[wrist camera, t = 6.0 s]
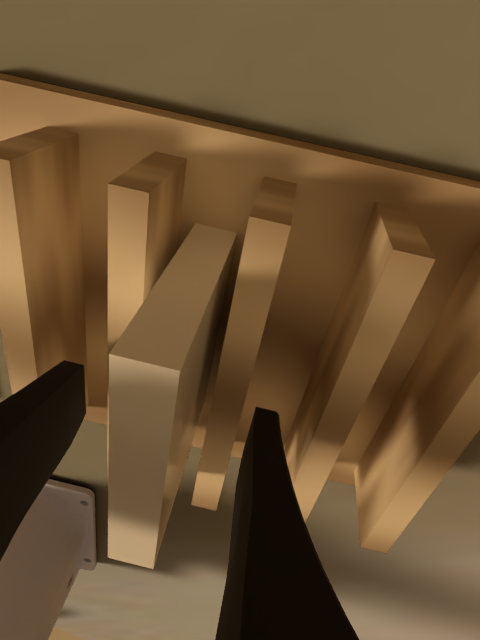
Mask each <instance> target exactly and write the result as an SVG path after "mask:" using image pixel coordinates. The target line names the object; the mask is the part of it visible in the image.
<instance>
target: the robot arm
mask: <svg viewBox="0 0 480 640" xmlns="http://www.w3.org/2000/svg"><path fill="white" fill-rule="evenodd" d="M85 415H86V397H85V373H84V365H82V364H78V363H74V362H70V361H66V360H64V361H62V362H60V363H59V364H57V365H56V366H54V367H53V368H51V369H50V370H48V371H47V372H45V373H44V374H43V375H41V376H40V377H38V378H37V379H35V380H34V381H32V382H31V383H29V384H28V385H27V386H25V387H24V388H22V389H21V390H19V391H18V392H16V393H14V394H13V395H11V396H10V397H8V398H7V399H5V400H4V401H2V402H1V403H0V640H48V638H49V636H50V634H51V632H52V629H53V627H54V625H55V623H56V620H57V618H58V616H59V614H60V612H61V609H62V607H63V605H64V603H65V600H66V598H67V596H68V594H69V591H70V589H71V587H72V585H73V583H74V580H75V578H76V576H77V574H78V571H79V569H80V568H81V569H85V570H89V571H92V570H94V569H95V567H96V564H97V561H96V528H95V495H94V493H93V492H92V491H91V490H90V489H87V488H84V487H80V486H76V485H72V484H68V483H64V482H60V481H56V480H52V479H49V478H50V476H51V475H52V473H53V472H54V470H55V469H56V467H57V466H58V464H59V463H60V461H61V459H62V458H63V456H64V455H65V453H66V452H67V450H68V448H69V447H70V445H71V443H72V441H73V439H74V437H75V435H76V433H77V431H78V429H79V427H80V425H81V423H82V421H83V419H84V417H85ZM215 640H359V638H358V636H357V635H356V633H355V631H354V629H353V627H352V625H351V624H350V622H349V620H348V618H347V616H346V614H345V612H344V610H343V608H342V606H341V604H340V602H339V600H338V598H337V596H336V594H335V592H334V590H333V588H332V586H331V584H330V582H329V579H328V577H327V575H326V573H325V571H324V569H323V566H322V564H321V562H320V559H319V557H318V555H317V552H316V550H315V548H314V545H313V543H312V540H311V538H310V535H309V532H308V530H307V527H306V524H305V521H304V519H303V516H302V513H301V510H300V507H299V504H298V501H297V497H296V494H295V491H294V487H293V484H292V480H291V476H290V473H289V469H288V465H287V461H286V456H285V452H284V447H283V442H282V436H281V429H280V419H279V414H278V413H277V412H276V411H272V410H268V409H264V408H260V407H256V408H255V412H254V415H253V418H252V422H251V425H250V429H249V432H248V436H247V439H246V443H245V446H244V450H243V454H242V459H241V464H240V469H239V474H238V479H237V484H236V493H235V503H234V513H233V523H232V533H231V543H230V554H229V564H228V571H227V578H226V584H225V590H224V595H223V601H222V606H221V612H220V617H219V623H218V628H217V633H216V639H215Z"/></svg>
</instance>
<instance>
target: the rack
mask: <svg viewBox="0 0 480 640" xmlns="http://www.w3.org/2000/svg"><path fill="white" fill-rule="evenodd" d="M195 223H197V224H201V225H205V226H210V227H214V228H218V229H222V230H227V231H231V232H235V233H237V237H236V242H235V247H234V252H233V258H232V263H231V268H230V273H229V278H228V284H227V289H226V294H225V299H224V305H223V310H222V315H221V320H220V325H219V331H218V336H217V341H216V346H215V352H214V357H213V362H212V367H211V373H210V378H209V383H208V388H207V393H206V399H205V403H204V407H203V410H202V413H201V416H200V420H199V423H198V426H197V429H196V433H195V436H194V439H193V442H192V445H191V446H194V447H198V448H202V453H201V458H200V463H199V468H198V473H197V478H196V483H195V488H194V493H193V498H192V503H191V505H194V506H198V507H202V508H206V509H210V510H214V511H216V509H217V505H218V501H219V497H220V494H221V490H222V486H223V482H224V478H225V475H226V471H227V467H228V463H229V460H230V456H235V457H239V458H242V454H243V450H244V446H245V443H246V439H247V436H248V432H249V429H250V425H251V422H252V418H253V415H254V412H255V408H256V407H260V408H264V409H268V410H272V411H276V412H277V413H278V414H279V419H280V429H281V436H282V442H283V447H284V452H285V456H286V461H287V465H288V469H289V473H290V476H291V480H292V484H293V487H294V491H295V494H296V497H297V501H298V504H299V507H300V510H301V513H302V516H303V519H304V521H305V522H306V520H307V518H308V516H309V514H310V512H311V510H312V508H313V506H314V504H315V502H316V500H317V498H318V496H319V494H320V492H321V490H322V488H323V486H324V484H325V482H326V480H327V479H328V480H332V481H336V482H341V483H345V484H349V485H353V486H355V487H356V499H357V510H358V521H359V533H360V544H361V547H363V548H367V549H371V550H375V551H379V552H383V553H387V551H388V550H389V549H390V547H391V546H392V545H393V543H394V542H395V541H396V539H397V538H398V537H399V535H400V534H401V533H402V531H403V530H404V529H405V527H406V526H407V525H408V523H409V522H410V521H411V520H412V518H413V517H414V516H415V514H416V513H417V512H418V510H419V509H420V508H421V506H422V505H423V504H424V502H425V501H426V500H427V498H428V497H429V496H430V494H431V493H432V492H433V490H434V489H435V488H436V487H437V485H438V484H439V483H440V481H441V480H442V479H443V477H444V476H445V475H446V473H447V472H448V471H449V469H450V468H451V467H452V465H453V464H454V463H455V461H456V460H457V459H458V457H459V456H460V455H461V453H462V452H463V451H464V450H465V448H466V447H467V446H468V444H469V443H470V442H471V440H472V439H473V438H474V436H475V435H476V434H477V432H478V431H479V430H480V181H475V180H471V179H466V178H462V177H458V176H453V175H449V174H444V173H440V172H436V171H431V170H427V169H422V168H418V167H413V166H409V165H405V164H400V163H396V162H391V161H387V160H383V159H378V158H374V157H369V156H365V155H360V154H356V153H352V152H347V151H343V150H338V149H334V148H330V147H325V146H321V145H316V144H312V143H308V142H303V141H299V140H294V139H290V138H285V137H281V136H277V135H272V134H268V133H263V132H259V131H255V130H250V129H246V128H241V127H237V126H232V125H228V124H224V123H219V122H215V121H210V120H206V119H202V118H197V117H193V116H188V115H184V114H180V113H175V112H171V111H166V110H162V109H157V108H153V107H149V106H144V105H140V104H135V103H131V102H127V101H122V100H118V99H113V98H109V97H104V96H100V95H96V94H91V93H87V92H82V91H78V90H74V89H69V88H65V87H60V86H56V85H52V84H47V83H43V82H38V81H34V80H29V79H25V78H21V77H16V76H12V75H7V74H3V73H0V328H1V334H2V339H3V345H4V350H5V356H6V361H7V367H8V373H9V378H10V384H11V389H12V395H13V394H14V393H16V392H18V391H19V390H21V389H22V388H24V387H25V386H27V385H28V384H29V383H31V382H32V381H34V380H35V379H37V378H38V377H40V376H41V375H43V374H44V373H45V372H47V371H48V370H50V369H51V368H53V367H54V366H56V365H57V364H59V363H60V362H62V361H64V360H66V361H70V362H74V363H78V364H82V365H84V373H85V397H86V415H85V417H84V420H88V421H92V422H96V423H100V424H104V425H108V450H109V353H110V352H111V350H112V349H113V347H114V346H115V344H116V343H117V341H118V340H119V338H120V337H121V335H122V334H123V332H124V331H125V329H126V328H127V326H128V325H129V323H130V322H131V320H132V319H133V317H134V316H135V314H136V313H137V311H138V310H139V308H140V306H141V305H142V303H143V302H144V300H145V299H146V297H147V296H148V294H149V293H150V291H151V290H152V288H153V287H154V285H155V284H156V282H157V281H158V279H159V278H160V276H161V275H162V273H163V272H164V270H165V269H166V267H167V266H168V264H169V263H170V261H171V260H172V258H173V257H174V255H175V254H176V252H177V251H178V249H179V248H180V246H181V245H182V243H183V242H184V240H185V239H186V237H187V236H188V234H189V233H190V231H191V230H192V228H193V227H194V225H195Z"/></svg>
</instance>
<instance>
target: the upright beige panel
mask: <svg viewBox="0 0 480 640" xmlns="http://www.w3.org/2000/svg"><path fill="white" fill-rule="evenodd" d="M236 237H237V233H235V232H231V231H227V230H222V229H218V228H214V227H210V226H205V225H201V224H197V223H195V225H194V227H193V228H192V230H191V231H190V233H189V234H188V236H187V237H186V239H185V240H184V242H183V243H182V245H181V246H180V248H179V249H178V251H177V252H176V254H175V255H174V257H173V258H172V260H171V261H170V263H169V264H168V266H167V267H166V269H165V270H164V272H163V273H162V275H161V276H160V278H159V279H158V281H157V282H156V284H155V285H154V287H153V288H152V290H151V291H150V293H149V294H148V296H147V297H146V299H145V300H144V302H143V303H142V305H141V306H140V308H139V310H138V311H137V313H136V314H135V316H134V317H133V319H132V320H131V322H130V323H129V325H128V326H127V328H126V329H125V331H124V332H123V334H122V335H121V337H120V338H119V340H118V341H117V343H116V344H115V346H114V347H113V349H112V350H111V352H110V353H109V450H108V558H111V559H115V560H119V561H123V562H127V563H131V564H135V565H139V566H143V567H147V568H151V569H153V568H154V565H155V562H156V559H157V555H158V552H159V549H160V546H161V543H162V539H163V536H164V533H165V530H166V526H167V523H168V520H169V517H170V513H171V510H172V507H173V504H174V500H175V497H176V494H177V491H178V488H179V484H180V481H181V478H182V475H183V471H184V468H185V465H186V462H187V458H188V455H189V452H190V449H191V445H192V442H193V439H194V436H195V433H196V429H197V426H198V423H199V420H200V416H201V413H202V410H203V407H204V403H205V399H206V393H207V388H208V383H209V378H210V373H211V367H212V362H213V357H214V352H215V346H216V341H217V336H218V331H219V325H220V320H221V315H222V310H223V305H224V299H225V294H226V289H227V284H228V278H229V273H230V268H231V263H232V258H233V252H234V247H235V242H236Z"/></svg>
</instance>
